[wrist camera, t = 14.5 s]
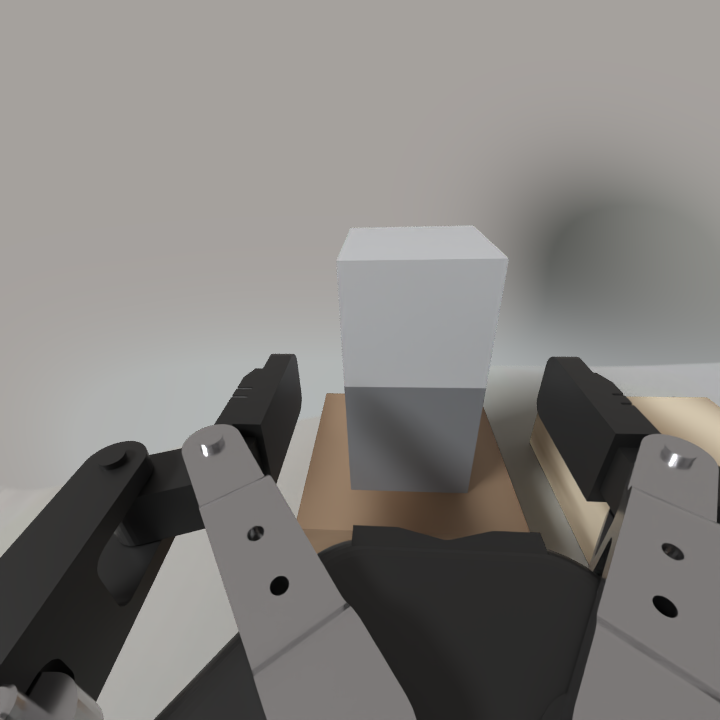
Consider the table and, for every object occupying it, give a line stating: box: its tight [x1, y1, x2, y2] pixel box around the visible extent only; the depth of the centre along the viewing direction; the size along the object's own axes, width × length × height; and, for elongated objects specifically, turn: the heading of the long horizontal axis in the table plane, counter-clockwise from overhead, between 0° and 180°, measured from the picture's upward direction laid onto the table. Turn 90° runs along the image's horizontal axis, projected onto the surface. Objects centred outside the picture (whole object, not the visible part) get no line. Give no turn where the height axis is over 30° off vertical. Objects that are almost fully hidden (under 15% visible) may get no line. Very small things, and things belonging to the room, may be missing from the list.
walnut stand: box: [297, 393, 530, 554], centre depth 21 cm, size 10×10×4 cm
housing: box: [337, 226, 509, 493], centre depth 17 cm, size 6×6×11 cm
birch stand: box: [530, 397, 720, 564], centre depth 20 cm, size 10×10×4 cm
